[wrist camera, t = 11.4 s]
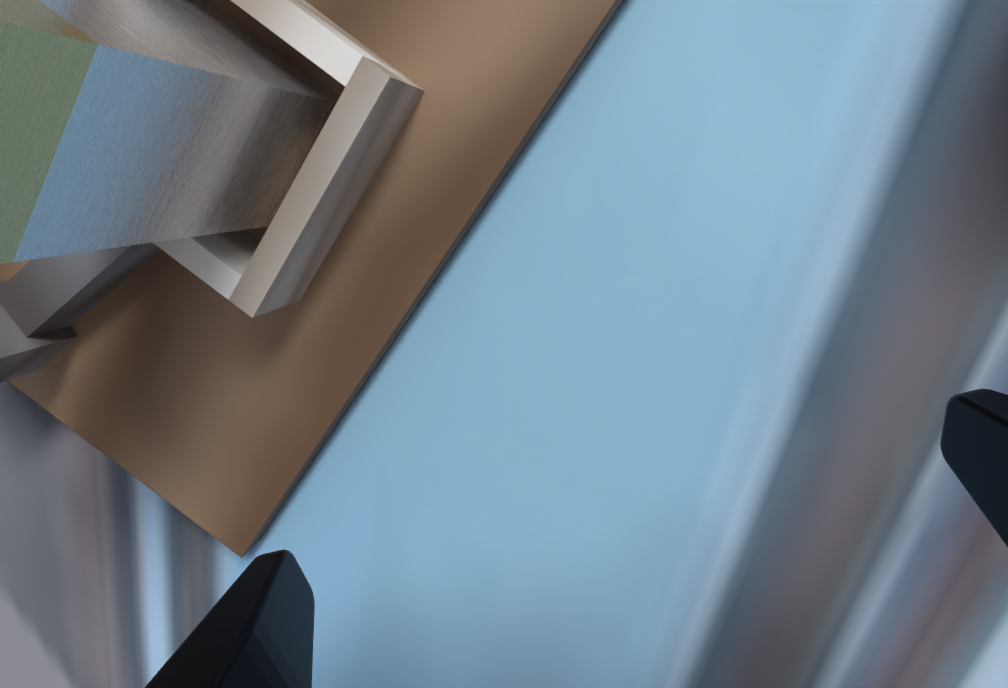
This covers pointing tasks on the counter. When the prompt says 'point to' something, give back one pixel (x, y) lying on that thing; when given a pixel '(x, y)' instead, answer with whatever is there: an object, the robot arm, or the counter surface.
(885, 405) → the counter surface
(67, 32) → the block
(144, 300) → the shaft board
